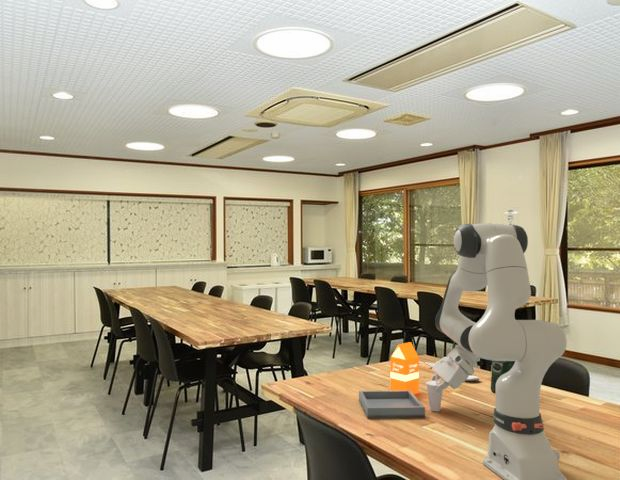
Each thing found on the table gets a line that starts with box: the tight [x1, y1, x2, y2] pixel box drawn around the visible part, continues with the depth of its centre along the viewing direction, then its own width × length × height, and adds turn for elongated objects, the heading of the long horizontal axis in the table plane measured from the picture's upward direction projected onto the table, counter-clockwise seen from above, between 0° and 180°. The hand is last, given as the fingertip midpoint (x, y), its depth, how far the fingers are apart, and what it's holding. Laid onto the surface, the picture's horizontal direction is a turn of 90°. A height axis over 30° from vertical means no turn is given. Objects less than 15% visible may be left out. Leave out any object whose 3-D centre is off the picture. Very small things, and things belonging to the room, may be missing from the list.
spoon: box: [424, 360, 480, 382], centre depth 227 cm, size 9×32×4 cm, turn 21°
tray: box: [358, 390, 426, 419], centre depth 178 cm, size 20×20×4 cm
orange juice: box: [389, 341, 420, 395], centre depth 198 cm, size 8×9×20 cm
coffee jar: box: [490, 360, 515, 394], centre depth 198 cm, size 10×8×19 cm
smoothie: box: [425, 371, 444, 412], centre depth 177 cm, size 6×6×14 cm
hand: (433, 388), depth 177 cm, fingers closed on smoothie, 6 cm apart
